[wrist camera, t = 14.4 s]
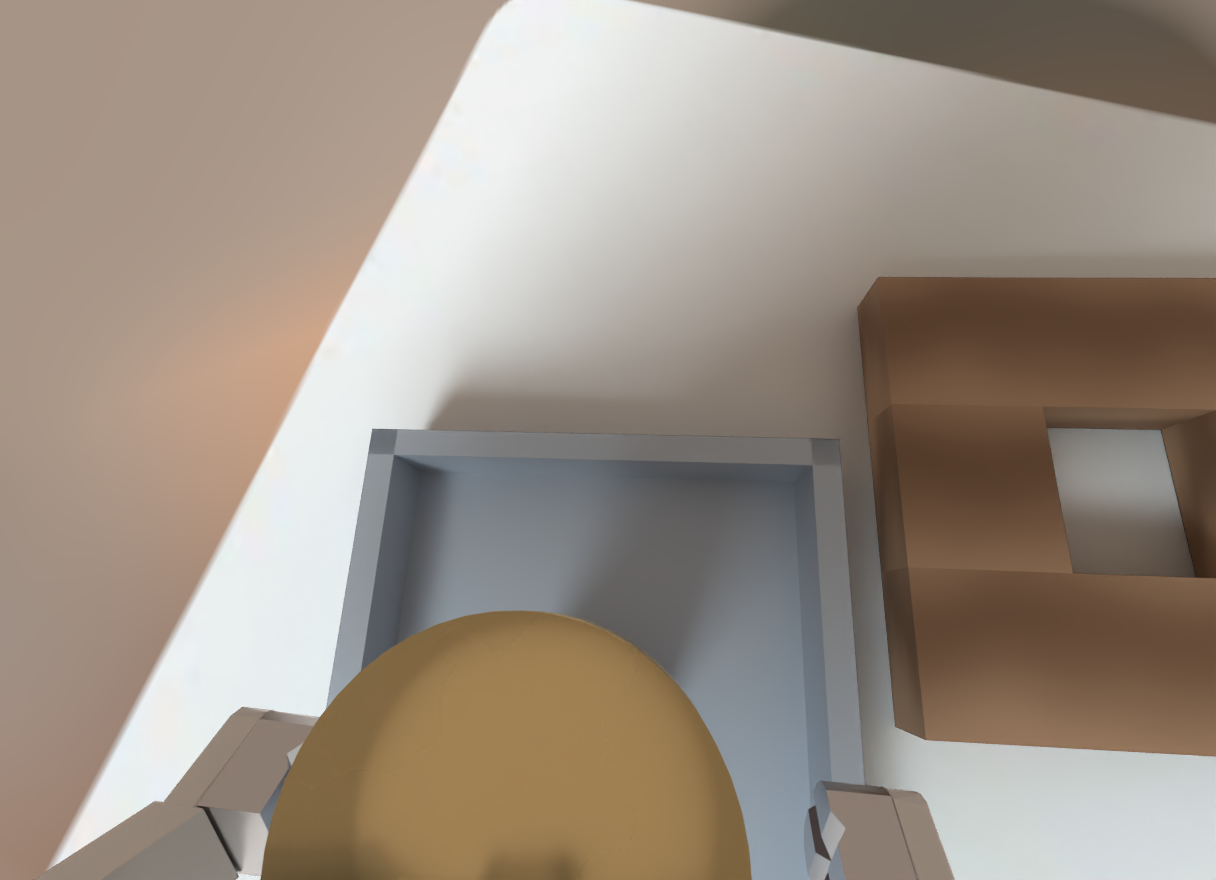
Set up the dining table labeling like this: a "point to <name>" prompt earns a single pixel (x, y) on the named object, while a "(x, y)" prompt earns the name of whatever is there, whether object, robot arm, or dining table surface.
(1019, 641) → the socket block
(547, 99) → the dining table surface
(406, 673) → the pin
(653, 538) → the tray
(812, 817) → the robot arm
